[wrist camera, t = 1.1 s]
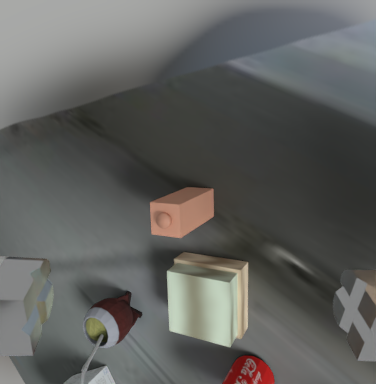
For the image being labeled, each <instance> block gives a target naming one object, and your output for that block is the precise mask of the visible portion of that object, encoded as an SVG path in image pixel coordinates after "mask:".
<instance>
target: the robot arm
mask: <svg viewBox="0 0 376 384" xmlns="http://www.w3.org/2000/svg"><path fill="white" fill-rule="evenodd" d="M50 272H51V269H50V263H49V260H47V259H43V258H25V257H3V256H0V356H33V355H34V352H35V350H36V347H37V345H38V343H39V340H40V338H41V335H42V329H41V324H43V323H44V322H45V321H47V320H48V318H49V315H50V312H51V309H52V304H53V284H52V283H51V282H50V281H49V280H48V276H49V274H50ZM340 282H341V284H342V285H343V287H341V288H340V289H339V290H338V291H337V292H335V296H334V299H333V313H334V316H335V319H336V321H337V323H338V325H339V327H341V328H342V329H343V330H345V331H346V332H347V333H348V334H347V338H346V340H347V342H348V344H349V346H350V348H351V350H352V352H353V354H354V355H355V357H356V359H357V361H376V270H367V269H345V271H344V272H343V273H342V275H341V278H340Z"/></svg>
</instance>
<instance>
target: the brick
mask: <svg viewBox="0 0 376 384" xmlns="http://www.w3.org/2000/svg"><path fill="white" fill-rule="evenodd" d="M150 213H151V232H152V234H154V235H161V236H169V237H176V238H182V237H183V236H185V235H186V234H188V233H189V232H191V231H192V230H194V229H196V228H197V227H199V226H200V225H202V224H203V223H205V222H206V221H208V220H209V219H211V218H212V217H214V193H213V189H211V188H195V187H186V188H184V189H181V190H179V191H176V192H174V193H171V194H169V195H166V196H164V197H161V198H159V199H156V200H154V201H151V202H150Z"/></svg>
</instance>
